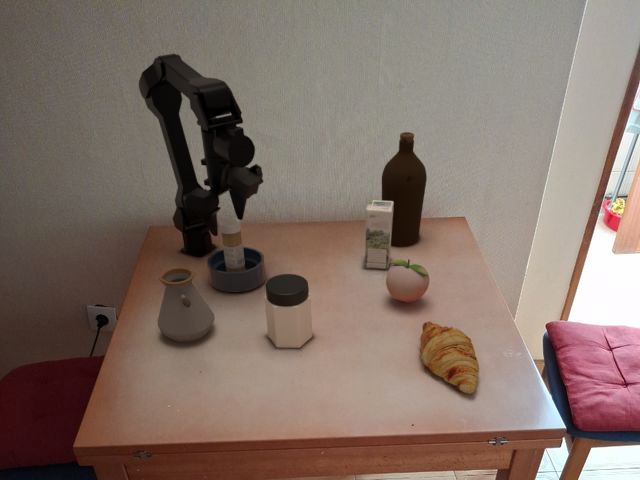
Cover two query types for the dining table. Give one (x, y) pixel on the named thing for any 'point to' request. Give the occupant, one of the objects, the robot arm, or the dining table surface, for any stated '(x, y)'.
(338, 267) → the dining table surface
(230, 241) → the sprinkles bottle
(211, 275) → the bowl
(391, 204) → the syrup box
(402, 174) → the olive oil
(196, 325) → the coffee pot
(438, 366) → the croissant
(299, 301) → the jar
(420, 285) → the decorative fruit
